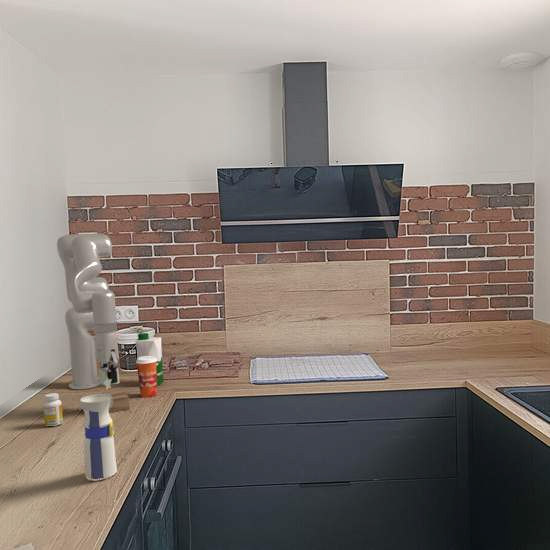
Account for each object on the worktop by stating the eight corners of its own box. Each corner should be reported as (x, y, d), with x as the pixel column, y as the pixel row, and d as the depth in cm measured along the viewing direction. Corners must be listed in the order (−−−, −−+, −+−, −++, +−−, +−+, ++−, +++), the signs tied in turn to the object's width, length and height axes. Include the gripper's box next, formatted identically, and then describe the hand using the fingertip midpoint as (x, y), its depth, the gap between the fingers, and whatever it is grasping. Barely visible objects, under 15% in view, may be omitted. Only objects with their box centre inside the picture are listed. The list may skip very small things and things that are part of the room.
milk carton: (145, 381, 247) (142, 331, 246) (166, 381, 246) (163, 331, 244) (136, 387, 239) (132, 335, 237) (158, 387, 237) (154, 335, 236)
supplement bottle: (57, 421, 200) (54, 391, 199) (66, 423, 196) (64, 393, 195) (41, 425, 195) (39, 395, 195) (51, 428, 192) (48, 397, 191)
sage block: (99, 383, 209) (98, 368, 209) (113, 380, 212) (112, 366, 212) (105, 385, 205) (104, 371, 205) (119, 383, 208) (118, 368, 208)
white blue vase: (122, 466, 157) (115, 370, 155) (114, 480, 149) (107, 378, 147) (89, 468, 157) (82, 372, 155) (80, 482, 149) (72, 380, 147)
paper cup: (138, 399, 221) (135, 360, 220) (137, 394, 228) (134, 356, 227) (160, 396, 223) (158, 358, 222) (158, 391, 230) (156, 354, 229)
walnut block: (93, 409, 212) (92, 395, 212) (122, 404, 217) (121, 390, 216) (99, 416, 203) (98, 401, 203) (129, 411, 208) (128, 396, 207)
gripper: (85, 327, 212) (90, 379, 214) (104, 332, 199) (108, 388, 200) (107, 324, 217) (110, 376, 218) (126, 329, 203) (130, 383, 204)
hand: (109, 381), depth 209 cm, fingers closed on sage block, 5 cm apart
